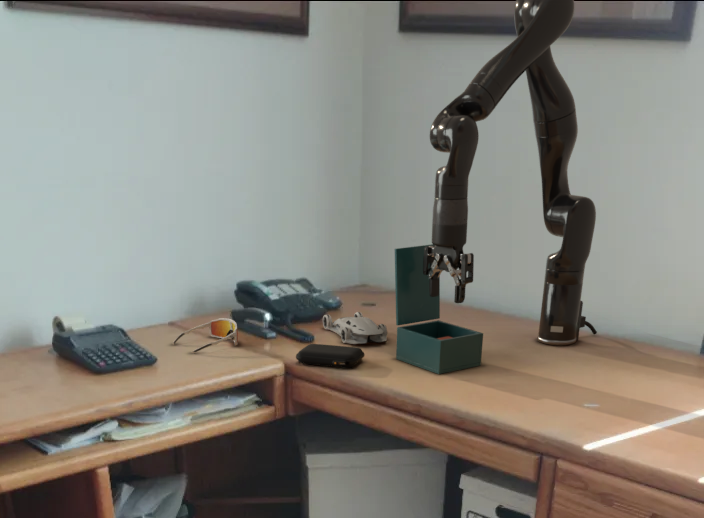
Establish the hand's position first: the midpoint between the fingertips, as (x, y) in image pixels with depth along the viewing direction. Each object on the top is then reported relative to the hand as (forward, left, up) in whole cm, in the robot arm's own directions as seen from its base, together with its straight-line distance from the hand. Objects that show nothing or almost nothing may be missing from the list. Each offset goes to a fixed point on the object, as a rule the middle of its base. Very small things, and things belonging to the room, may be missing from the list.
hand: (446, 299), depth 209 cm
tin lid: (0, -10, +2) cm, 10 cm away
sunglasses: (+36, -47, -15) cm, 61 cm away
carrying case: (+21, -16, -14) cm, 30 cm away
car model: (+1, -33, -14) cm, 36 cm away
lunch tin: (0, -2, -14) cm, 14 cm away
